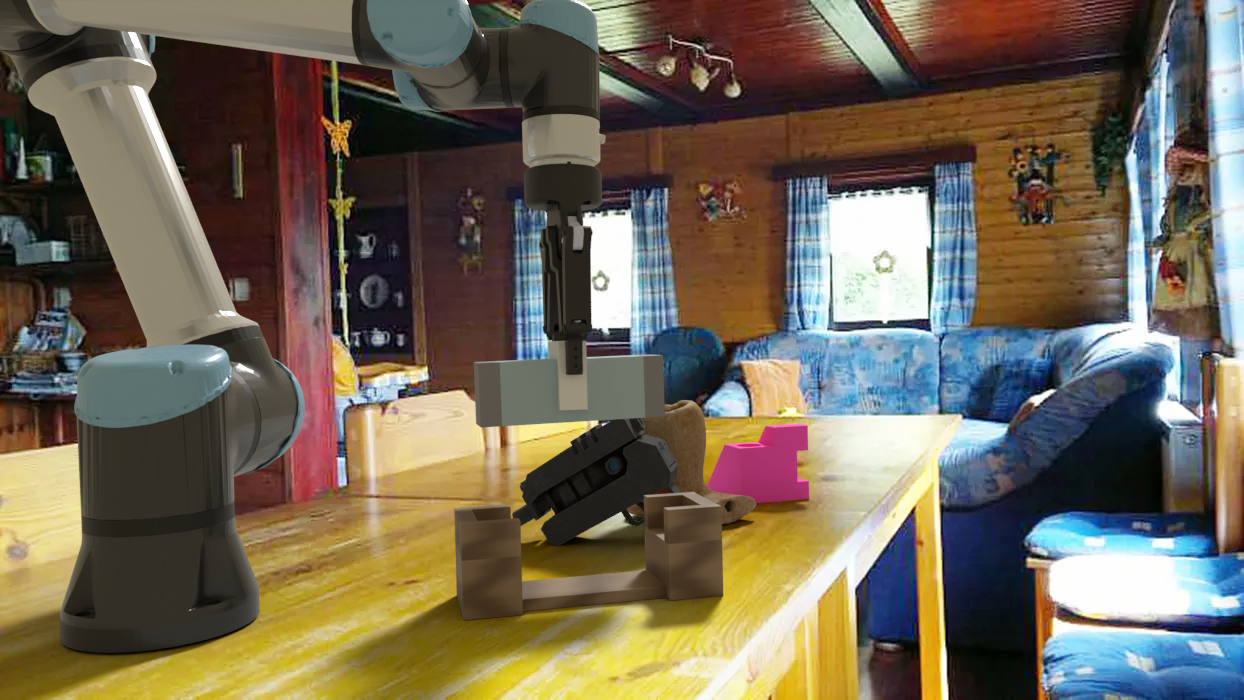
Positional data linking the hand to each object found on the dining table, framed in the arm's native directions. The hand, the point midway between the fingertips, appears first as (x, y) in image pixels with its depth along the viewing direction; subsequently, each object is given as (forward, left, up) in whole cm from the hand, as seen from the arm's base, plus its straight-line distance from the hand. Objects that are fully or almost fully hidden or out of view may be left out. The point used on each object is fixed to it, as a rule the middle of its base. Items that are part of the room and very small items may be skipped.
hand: (568, 407), depth 92 cm
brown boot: (+18, +22, -17) cm, 33 cm away
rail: (0, 0, -1) cm, 1 cm away
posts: (0, -7, -17) cm, 18 cm away
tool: (+6, +14, -17) cm, 23 cm away
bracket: (+34, +35, -17) cm, 52 cm away
